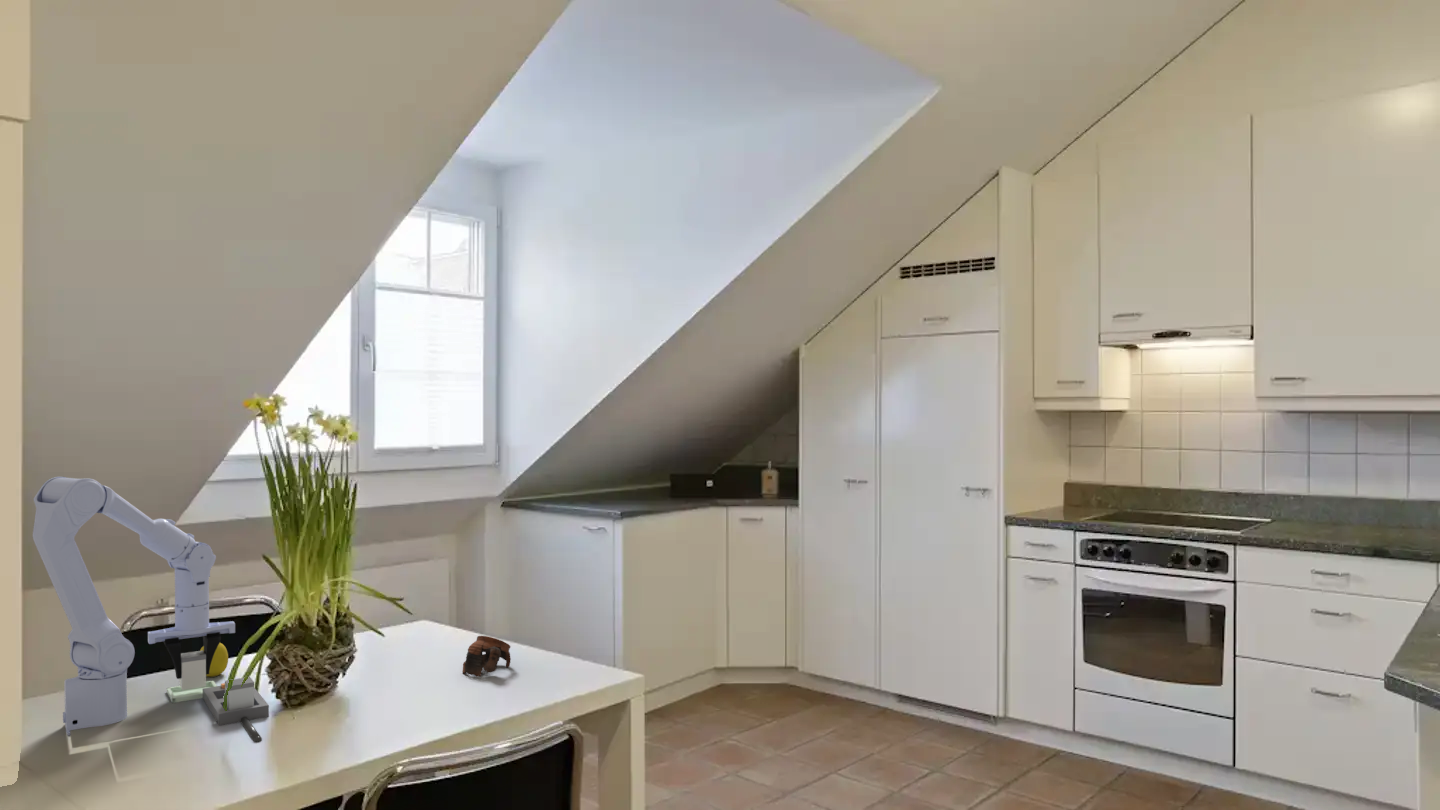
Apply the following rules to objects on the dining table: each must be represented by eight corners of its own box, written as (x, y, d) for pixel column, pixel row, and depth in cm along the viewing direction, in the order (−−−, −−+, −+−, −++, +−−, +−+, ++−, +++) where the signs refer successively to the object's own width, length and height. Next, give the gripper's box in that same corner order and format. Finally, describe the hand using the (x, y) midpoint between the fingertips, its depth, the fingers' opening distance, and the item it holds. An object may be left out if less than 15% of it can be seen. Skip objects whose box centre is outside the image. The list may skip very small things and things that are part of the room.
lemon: (219, 683, 195) (218, 643, 195) (192, 683, 195) (191, 643, 195) (233, 675, 200) (233, 636, 200) (207, 675, 200) (206, 636, 200)
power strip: (231, 750, 158) (231, 731, 158) (202, 701, 183) (202, 685, 183) (284, 739, 163) (284, 720, 163) (249, 693, 188) (248, 677, 188)
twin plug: (229, 720, 171) (228, 686, 171) (225, 714, 175) (224, 680, 174) (254, 715, 174) (254, 682, 174) (250, 709, 177) (249, 676, 177)
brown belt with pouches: (453, 672, 203) (467, 634, 207) (493, 686, 207) (507, 648, 211) (471, 670, 193) (486, 630, 197) (514, 685, 197) (527, 646, 201)
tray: (172, 707, 180) (172, 698, 180) (166, 696, 187) (166, 687, 187) (220, 698, 185) (220, 690, 185) (213, 688, 191) (213, 680, 191)
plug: (181, 690, 183) (181, 658, 183) (179, 685, 186) (178, 653, 186) (206, 686, 185) (206, 654, 185) (203, 681, 188) (202, 650, 188)
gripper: (230, 596, 193) (230, 664, 193) (145, 605, 184) (146, 676, 185) (236, 602, 187) (237, 672, 187) (150, 612, 179) (150, 685, 179)
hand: (192, 675), depth 186 cm, fingers closed on plug, 4 cm apart
